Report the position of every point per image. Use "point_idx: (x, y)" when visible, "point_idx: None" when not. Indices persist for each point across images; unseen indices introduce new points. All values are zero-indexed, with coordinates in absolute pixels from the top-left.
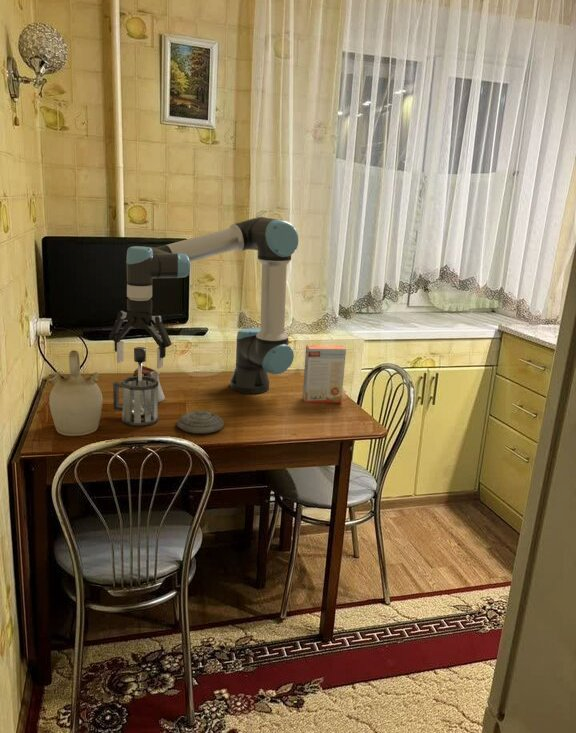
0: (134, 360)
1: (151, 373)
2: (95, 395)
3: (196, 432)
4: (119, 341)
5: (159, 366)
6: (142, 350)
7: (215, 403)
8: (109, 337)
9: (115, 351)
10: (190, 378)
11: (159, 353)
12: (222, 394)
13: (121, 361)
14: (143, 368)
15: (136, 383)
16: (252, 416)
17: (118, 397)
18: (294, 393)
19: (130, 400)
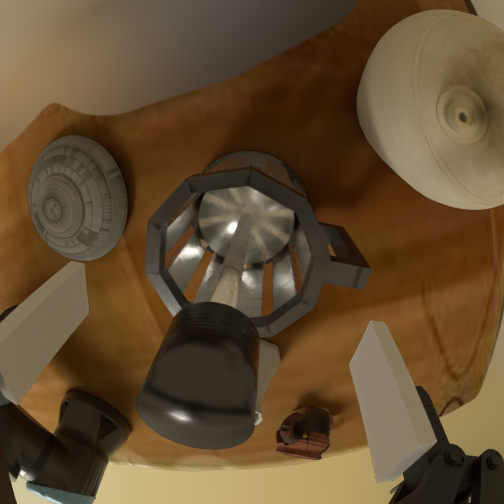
0: (249, 323)
1: (259, 416)
2: (397, 51)
3: (64, 137)
4: (410, 468)
5: (64, 270)
6: (148, 384)
7: (107, 347)
8: (499, 460)
9: (419, 387)
10: (215, 449)
11: (7, 323)
12: (119, 390)
13: (359, 346)
14: (306, 452)
15: (318, 415)
16: (22, 285)
17: (337, 254)
18: (32, 386)
19: (263, 169)
